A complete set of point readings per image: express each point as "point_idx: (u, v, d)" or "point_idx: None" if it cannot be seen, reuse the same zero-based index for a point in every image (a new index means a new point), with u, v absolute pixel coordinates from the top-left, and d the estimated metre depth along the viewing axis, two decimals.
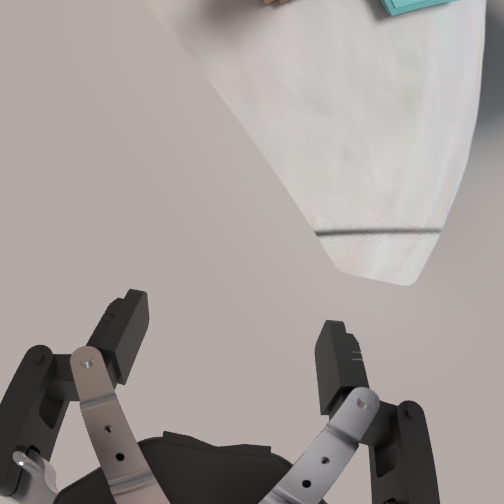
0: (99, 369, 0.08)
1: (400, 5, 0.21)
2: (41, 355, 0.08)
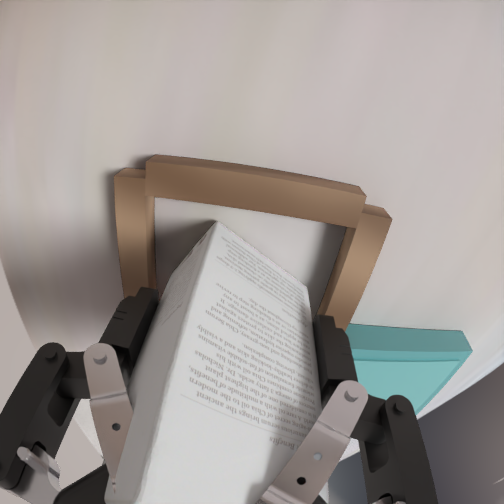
0: (113, 366, 0.09)
1: None
2: (54, 353, 0.08)
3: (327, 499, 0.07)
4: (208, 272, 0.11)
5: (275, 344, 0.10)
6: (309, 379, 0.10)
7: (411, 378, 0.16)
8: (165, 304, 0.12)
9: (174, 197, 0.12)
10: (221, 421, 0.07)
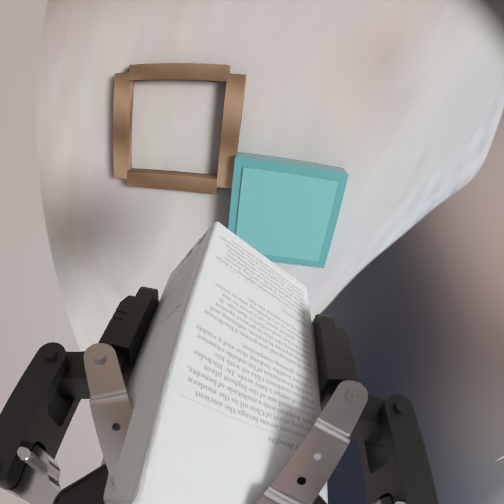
0: (113, 366, 0.09)
1: None
2: (54, 353, 0.08)
3: (326, 499, 0.07)
4: (207, 272, 0.11)
5: (274, 344, 0.10)
6: (308, 379, 0.10)
7: (298, 193, 0.26)
8: (164, 304, 0.12)
9: (141, 78, 0.22)
10: (220, 421, 0.07)
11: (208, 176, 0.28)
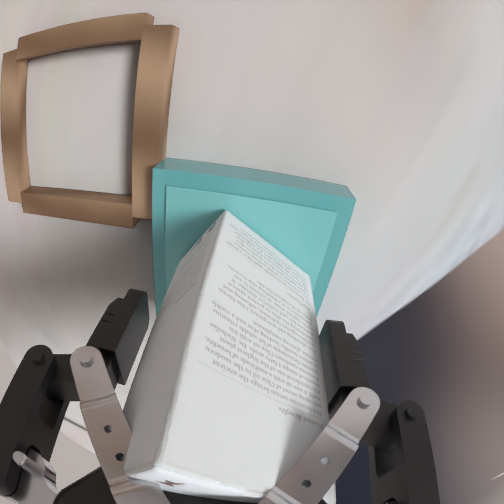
0: (99, 369, 0.08)
1: None
2: (41, 355, 0.08)
3: None
4: (219, 254, 0.11)
5: (281, 323, 0.11)
6: (313, 358, 0.11)
7: (264, 231, 0.15)
8: (176, 286, 0.12)
9: (29, 55, 0.11)
10: (234, 388, 0.07)
11: (121, 200, 0.16)
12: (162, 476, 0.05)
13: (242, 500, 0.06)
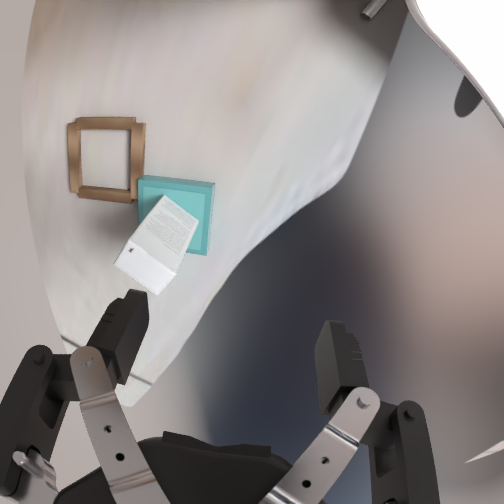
0: (99, 369, 0.08)
1: None
2: (41, 355, 0.08)
3: (178, 266, 0.30)
4: (156, 207, 0.34)
5: (174, 228, 0.34)
6: (184, 240, 0.34)
7: (179, 202, 0.38)
8: None
9: (83, 128, 0.34)
10: (151, 234, 0.31)
11: (126, 192, 0.39)
12: (129, 244, 0.28)
13: (147, 260, 0.29)
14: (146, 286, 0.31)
